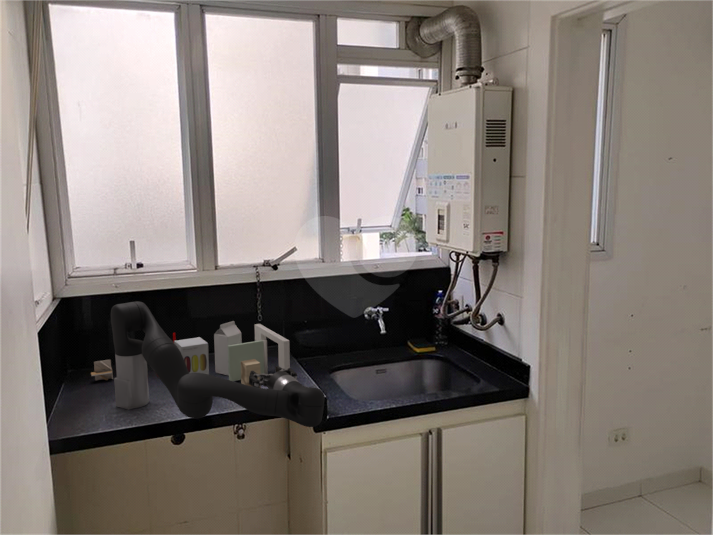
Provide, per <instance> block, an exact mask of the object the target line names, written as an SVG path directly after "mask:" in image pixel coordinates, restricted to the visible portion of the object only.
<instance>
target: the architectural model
mask: <svg viewBox="0 0 713 535" xmlns="http://www.w3.org/2000/svg"><path fill="white" fill-rule="evenodd" d="M93 365H94V366H93V367H94V370H93V372H92V371H91V372H90V375H91V377H94V380H95V382H96V381H101V380H105V381H108V380H109V379H112V380H114V377H113V376H114V375H113V368H112V360H111V359H105V360H97V361H93Z"/></svg>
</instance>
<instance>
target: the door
mask: <svg viewBox="0 0 713 535" xmlns="http://www.w3.org/2000/svg"><path fill="white" fill-rule="evenodd" d="M252 359H255V360H257V361H258V362H260V372H261V374H262V373H264V374H269V372H268V366H269V365H268V340H267V339H266V340H260V341H255V340H254V341H248V342H242V343H241V344H235V345H229V346H228V369H229V376H228V380H230V381H234V382H237V381H241V361H246V360H252Z"/></svg>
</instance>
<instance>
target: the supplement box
mask: <svg viewBox="0 0 713 535" xmlns="http://www.w3.org/2000/svg"><path fill="white" fill-rule="evenodd" d="M174 344H175V345H176V346H177V347H178V349H179V350H180V352H181V354H182V356H183V358H184V361H185V364H186V366H187V369H188V372H189V373H204V374H208V375H210V366H209V365H210V364H209V343H208V341H206V340H204V339H203V338H202V337H200V336H198V337H192V338H184V339H179V340H177V339H176V341H174Z"/></svg>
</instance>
